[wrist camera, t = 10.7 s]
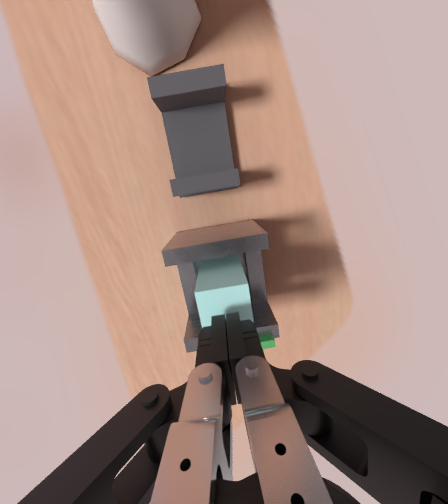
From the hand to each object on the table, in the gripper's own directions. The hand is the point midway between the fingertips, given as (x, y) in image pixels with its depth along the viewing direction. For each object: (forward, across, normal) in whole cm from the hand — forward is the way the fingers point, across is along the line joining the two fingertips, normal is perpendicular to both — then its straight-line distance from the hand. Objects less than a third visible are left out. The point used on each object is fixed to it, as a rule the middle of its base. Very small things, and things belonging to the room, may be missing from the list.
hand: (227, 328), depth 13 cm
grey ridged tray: (+10, 0, -11) cm, 15 cm away
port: (+10, 0, 0) cm, 10 cm away
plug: (+9, 0, 0) cm, 9 cm away
